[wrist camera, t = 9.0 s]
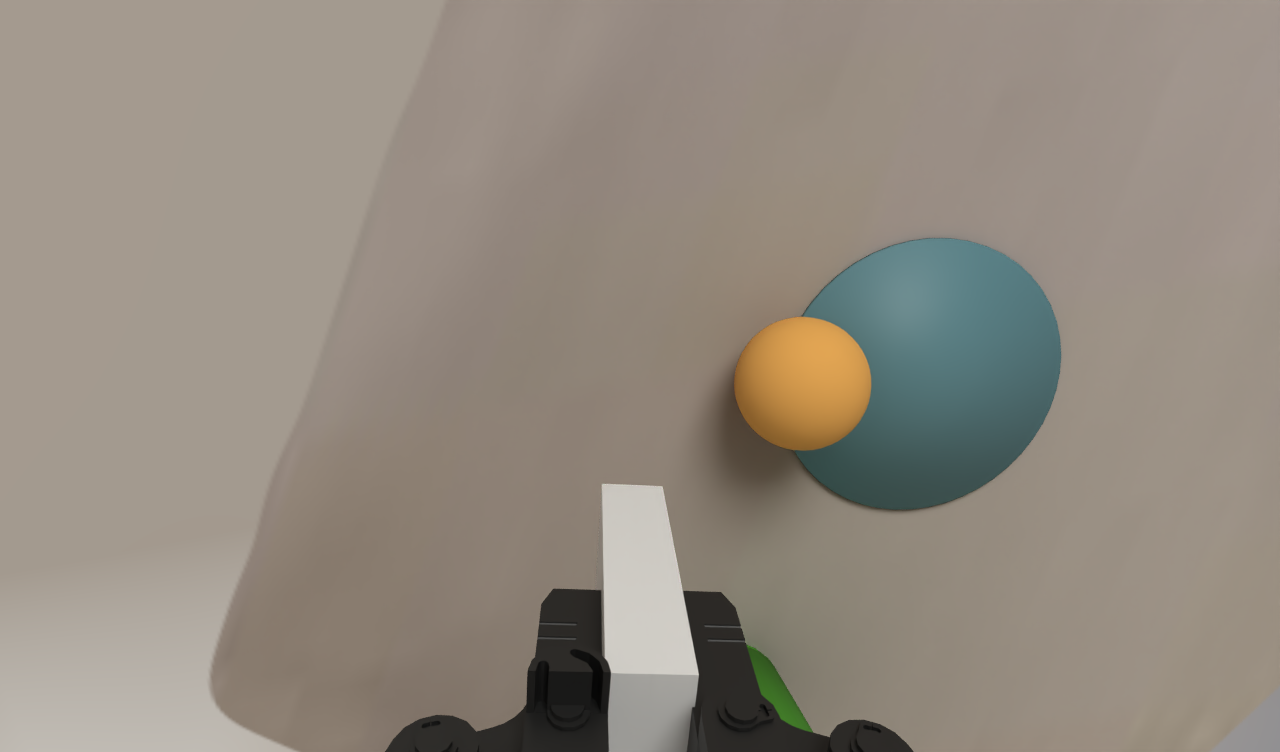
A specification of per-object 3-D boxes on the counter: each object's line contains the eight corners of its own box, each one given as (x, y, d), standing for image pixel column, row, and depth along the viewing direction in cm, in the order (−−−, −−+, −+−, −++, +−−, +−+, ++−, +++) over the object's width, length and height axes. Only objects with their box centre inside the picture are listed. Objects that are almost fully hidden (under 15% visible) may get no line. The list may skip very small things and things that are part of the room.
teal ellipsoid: (1091, 248, 31) (1094, 249, 31) (1019, 512, 35) (1022, 514, 35) (801, 227, 30) (802, 228, 30) (761, 502, 34) (762, 504, 34)
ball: (711, 326, 28) (760, 307, 32) (715, 459, 29) (761, 423, 33) (854, 330, 25) (885, 309, 30) (852, 478, 26) (882, 435, 31)
